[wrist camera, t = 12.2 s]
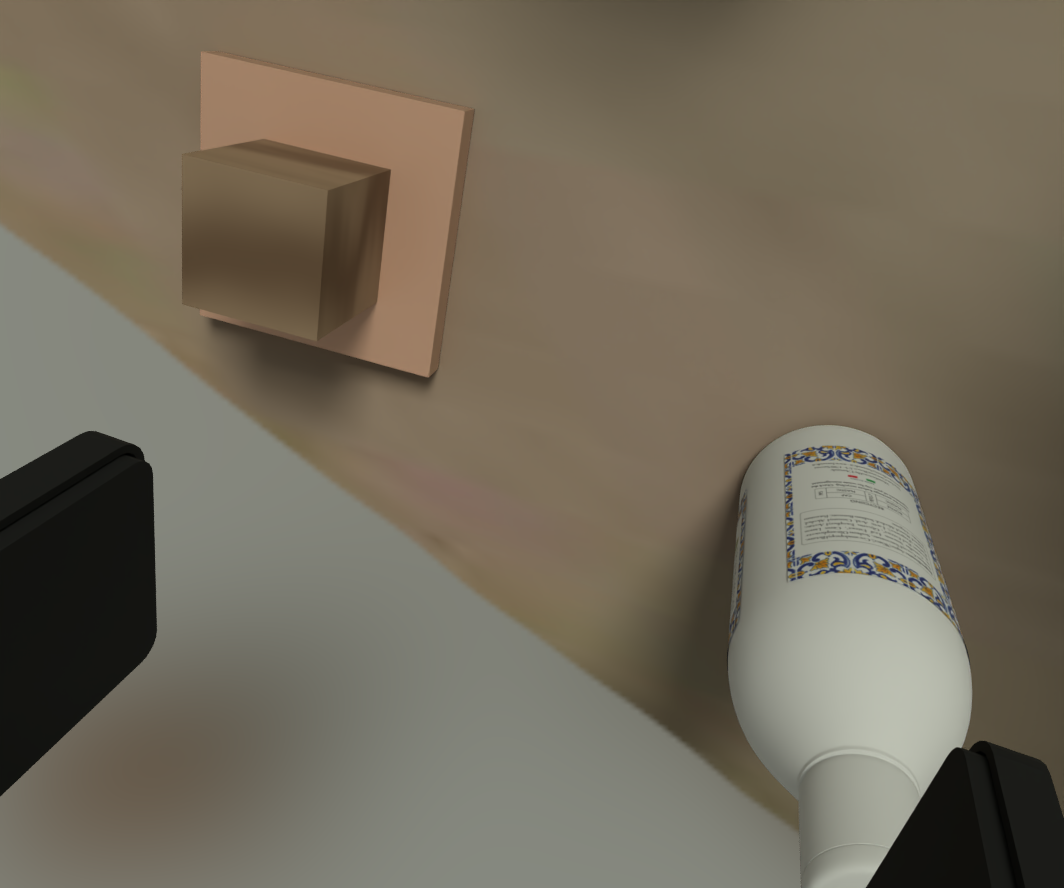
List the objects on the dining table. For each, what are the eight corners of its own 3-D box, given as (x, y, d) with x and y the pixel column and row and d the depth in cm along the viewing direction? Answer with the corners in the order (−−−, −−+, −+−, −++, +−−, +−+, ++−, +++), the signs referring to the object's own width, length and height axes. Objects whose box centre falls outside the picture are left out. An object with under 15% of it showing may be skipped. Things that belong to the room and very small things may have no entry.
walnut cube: (264, 138, 35) (181, 154, 30) (390, 169, 34) (327, 190, 29) (259, 270, 37) (182, 304, 32) (377, 301, 37) (316, 341, 32)
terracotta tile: (218, 51, 35) (200, 51, 34) (474, 108, 34) (464, 111, 32) (215, 307, 40) (199, 315, 39) (437, 368, 38) (428, 377, 37)
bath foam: (820, 594, 38) (859, 1059, 21) (706, 492, 38) (646, 884, 20) (951, 500, 35) (1129, 956, 18) (829, 386, 35) (887, 743, 17)
